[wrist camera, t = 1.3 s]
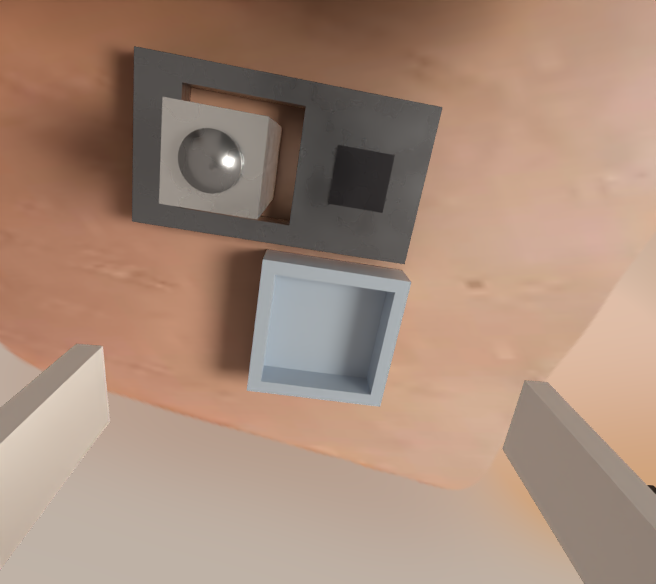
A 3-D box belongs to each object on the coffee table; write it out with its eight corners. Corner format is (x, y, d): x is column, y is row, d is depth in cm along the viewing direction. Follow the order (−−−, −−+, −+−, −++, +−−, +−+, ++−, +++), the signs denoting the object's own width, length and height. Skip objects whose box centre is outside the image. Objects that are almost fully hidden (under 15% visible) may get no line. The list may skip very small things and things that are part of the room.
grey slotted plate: (146, 53, 27) (133, 45, 25) (433, 110, 29) (442, 107, 27) (143, 216, 30) (131, 221, 28) (399, 257, 32) (404, 264, 30)
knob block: (211, 114, 28) (157, 94, 18) (282, 127, 29) (267, 115, 19) (206, 186, 30) (154, 205, 20) (273, 198, 30) (255, 221, 20)
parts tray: (267, 249, 32) (262, 259, 29) (402, 270, 33) (411, 282, 30) (252, 370, 35) (246, 390, 32) (374, 385, 36) (379, 406, 33)
